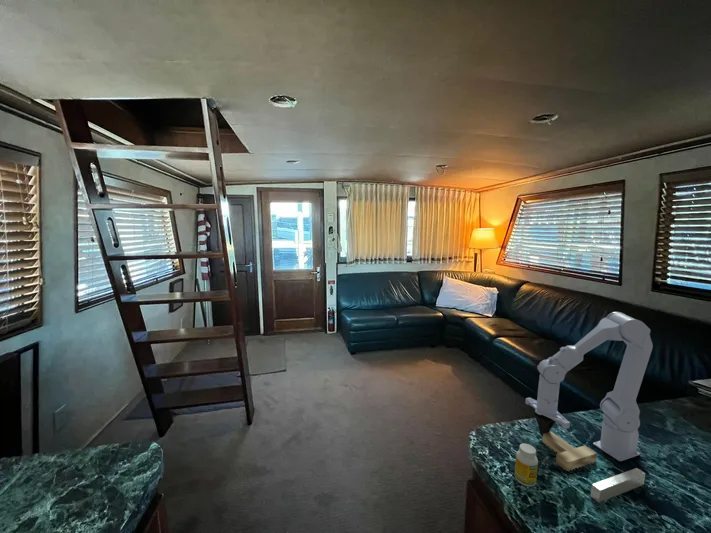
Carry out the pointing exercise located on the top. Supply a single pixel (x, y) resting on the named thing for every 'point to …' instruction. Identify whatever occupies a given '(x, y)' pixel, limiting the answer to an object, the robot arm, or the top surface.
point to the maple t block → (569, 452)
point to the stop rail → (617, 484)
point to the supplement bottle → (526, 465)
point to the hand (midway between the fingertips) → (543, 435)
